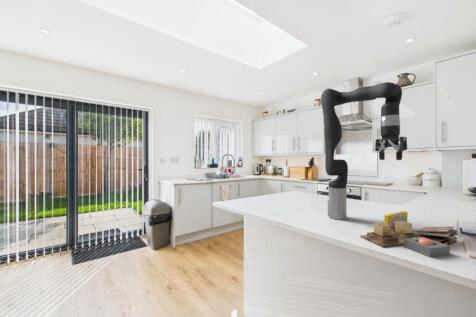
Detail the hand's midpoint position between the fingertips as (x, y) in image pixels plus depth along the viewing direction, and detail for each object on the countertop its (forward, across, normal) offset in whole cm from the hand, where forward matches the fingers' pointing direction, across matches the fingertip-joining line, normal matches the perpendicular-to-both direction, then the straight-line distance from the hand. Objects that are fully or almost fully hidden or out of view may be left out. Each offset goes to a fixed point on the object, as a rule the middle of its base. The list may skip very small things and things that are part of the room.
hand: (390, 160), depth 100 cm
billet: (+32, +10, -5) cm, 34 cm away
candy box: (+33, +1, +2) cm, 33 cm away
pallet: (+33, +10, -10) cm, 36 cm away
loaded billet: (+33, +10, -16) cm, 38 cm away
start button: (+33, +21, -8) cm, 40 cm away
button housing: (+33, +21, -8) cm, 40 cm away
